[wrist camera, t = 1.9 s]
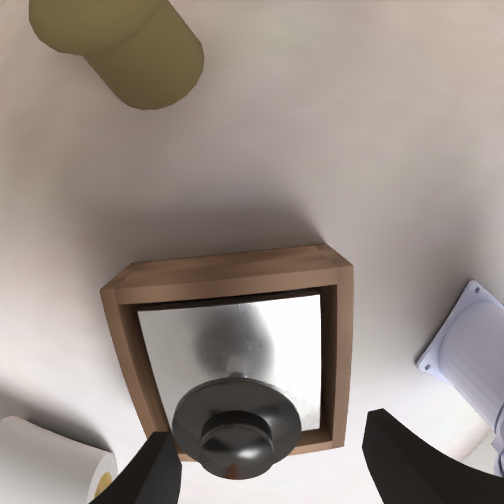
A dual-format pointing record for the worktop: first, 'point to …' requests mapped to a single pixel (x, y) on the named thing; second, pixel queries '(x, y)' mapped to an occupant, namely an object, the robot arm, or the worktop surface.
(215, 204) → the worktop surface
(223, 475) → the plunger
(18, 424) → the toilet paper
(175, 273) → the frame
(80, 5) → the brown tapered figure
